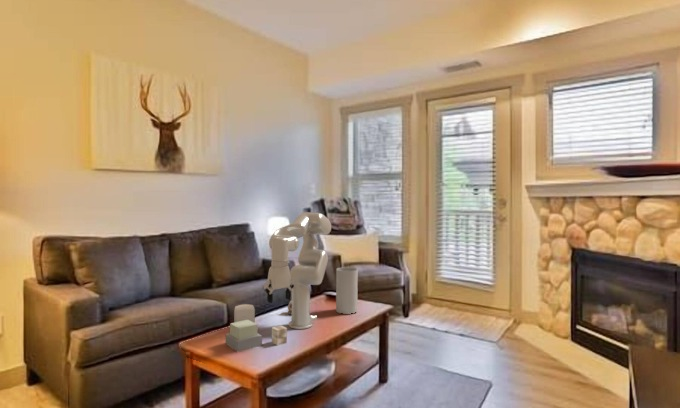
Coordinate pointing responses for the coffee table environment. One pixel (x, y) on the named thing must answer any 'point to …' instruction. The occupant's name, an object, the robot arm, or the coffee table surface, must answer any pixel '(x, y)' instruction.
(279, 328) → the ash block
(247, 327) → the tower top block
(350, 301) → the cylinder vase
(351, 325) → the coffee table surface
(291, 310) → the decorative ornament
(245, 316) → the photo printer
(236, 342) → the tower bottom block
